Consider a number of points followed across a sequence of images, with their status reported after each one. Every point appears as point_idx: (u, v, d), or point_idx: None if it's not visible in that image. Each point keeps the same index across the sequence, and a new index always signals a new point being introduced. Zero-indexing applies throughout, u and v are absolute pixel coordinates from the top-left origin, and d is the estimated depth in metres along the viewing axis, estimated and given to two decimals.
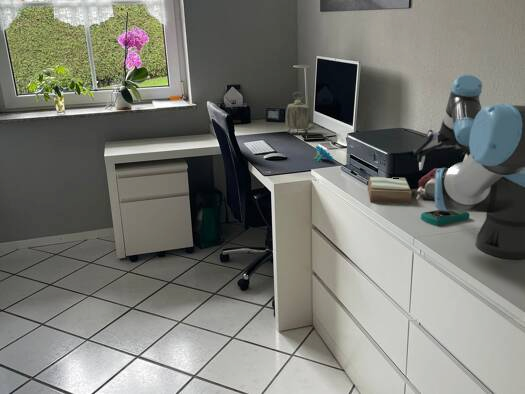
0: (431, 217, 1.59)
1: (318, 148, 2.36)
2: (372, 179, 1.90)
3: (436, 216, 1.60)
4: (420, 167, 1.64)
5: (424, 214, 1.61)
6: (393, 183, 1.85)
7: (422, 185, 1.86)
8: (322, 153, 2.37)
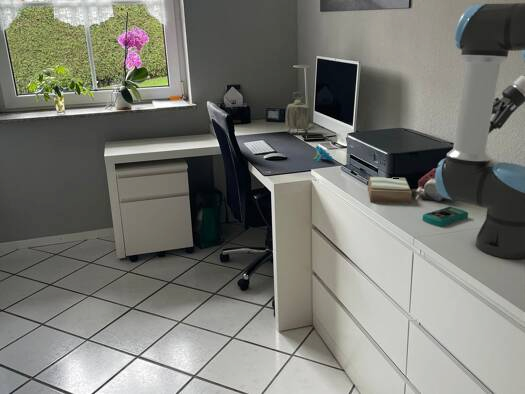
0: (434, 218, 1.58)
1: (318, 148, 2.36)
2: (372, 179, 1.90)
3: (439, 217, 1.59)
4: None
5: (426, 215, 1.60)
6: (393, 183, 1.85)
7: (421, 185, 1.86)
8: (322, 153, 2.37)
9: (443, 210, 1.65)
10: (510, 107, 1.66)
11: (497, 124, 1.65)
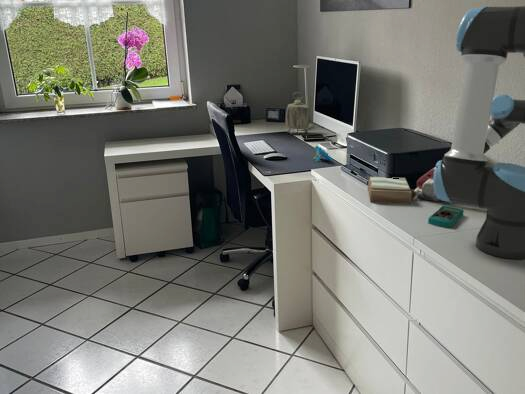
0: (443, 220, 1.56)
1: (317, 148, 2.36)
2: (372, 179, 1.90)
3: (445, 218, 1.58)
4: None
5: (433, 218, 1.58)
6: (393, 183, 1.85)
7: (420, 185, 1.85)
8: (321, 153, 2.37)
9: (441, 210, 1.65)
10: None
11: None
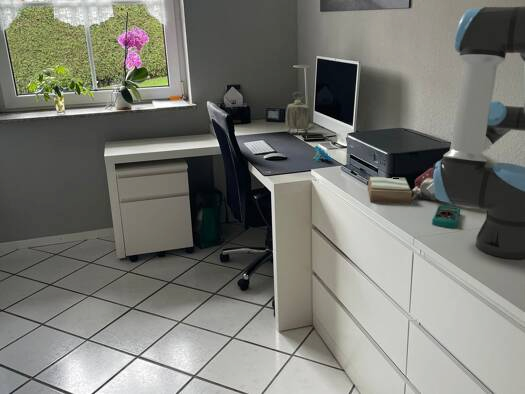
0: (448, 220, 1.56)
1: (316, 148, 2.36)
2: (372, 179, 1.90)
3: (449, 218, 1.58)
4: None
5: (437, 219, 1.57)
6: (393, 183, 1.85)
7: (418, 185, 1.86)
8: (321, 153, 2.37)
9: (440, 210, 1.65)
10: None
11: None
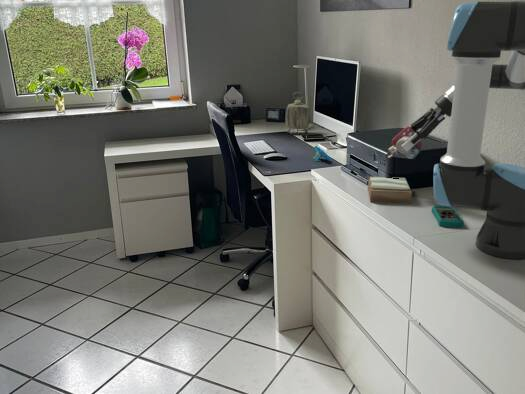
0: (456, 220, 1.56)
1: (316, 148, 2.36)
2: (372, 179, 1.90)
3: (454, 218, 1.58)
4: None
5: (445, 220, 1.56)
6: (393, 183, 1.85)
7: (395, 144, 1.84)
8: (320, 153, 2.37)
9: (439, 211, 1.64)
10: (437, 117, 1.71)
11: (422, 134, 1.72)
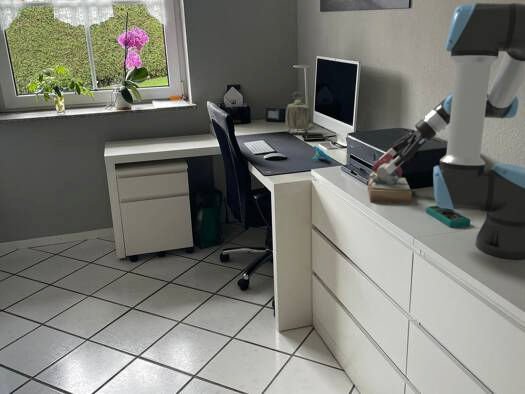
0: (464, 220, 1.56)
1: (315, 148, 2.36)
2: None
3: (459, 217, 1.58)
4: None
5: (455, 221, 1.56)
6: None
7: (376, 170, 1.86)
8: (319, 153, 2.37)
9: (439, 211, 1.64)
10: (419, 141, 1.73)
11: (405, 157, 1.72)
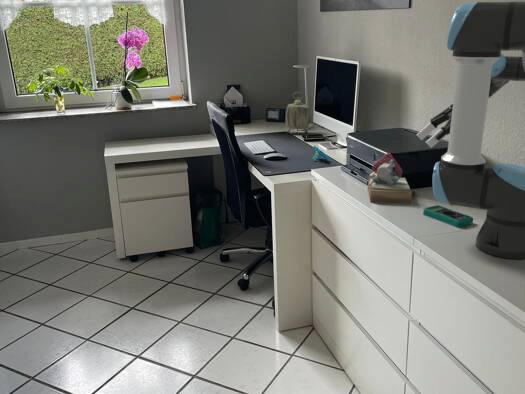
0: (469, 218, 1.58)
1: (314, 148, 2.36)
2: None
3: (462, 216, 1.59)
4: (419, 132, 1.86)
5: (462, 220, 1.56)
6: None
7: (376, 170, 1.87)
8: (319, 153, 2.37)
9: (439, 212, 1.63)
10: None
11: (448, 130, 1.68)
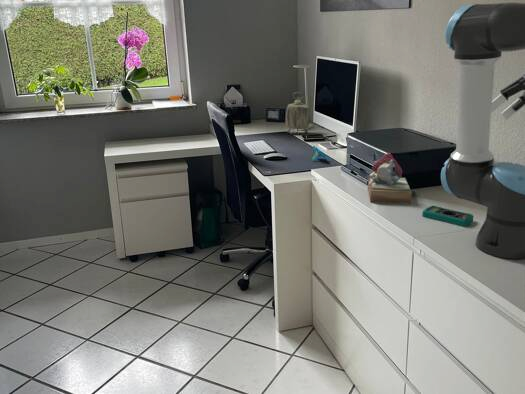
0: (471, 216, 1.59)
1: (314, 148, 2.36)
2: None
3: (464, 215, 1.61)
4: None
5: (467, 219, 1.57)
6: None
7: (376, 170, 1.87)
8: (318, 153, 2.37)
9: (440, 213, 1.63)
10: None
11: None
